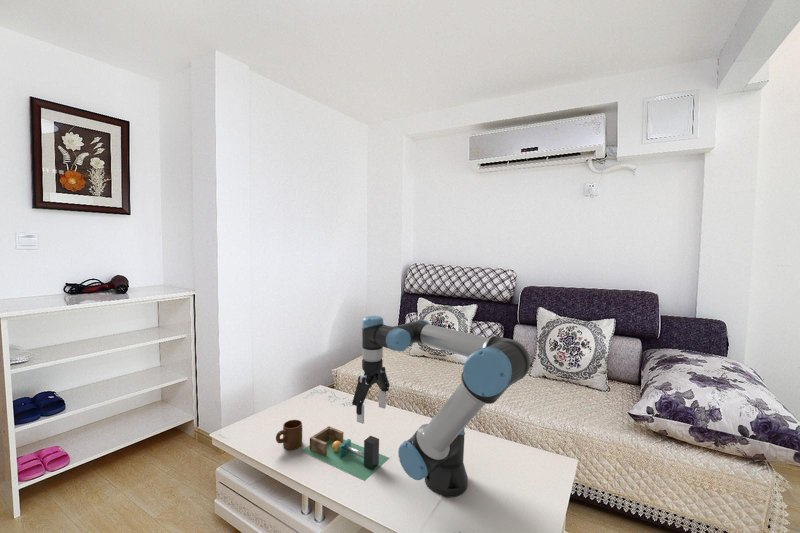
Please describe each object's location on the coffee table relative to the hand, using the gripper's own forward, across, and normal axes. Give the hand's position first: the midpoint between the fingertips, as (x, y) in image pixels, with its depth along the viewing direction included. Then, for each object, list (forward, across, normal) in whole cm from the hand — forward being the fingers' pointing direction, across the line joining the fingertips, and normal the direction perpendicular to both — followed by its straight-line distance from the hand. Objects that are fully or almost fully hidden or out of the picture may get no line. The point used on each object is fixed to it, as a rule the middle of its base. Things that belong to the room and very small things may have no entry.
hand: (371, 414), depth 133 cm
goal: (+20, 0, -23) cm, 30 cm away
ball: (+18, 0, -17) cm, 25 cm away
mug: (+20, +9, -35) cm, 42 cm away
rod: (+20, 0, -6) cm, 21 cm away
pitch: (+20, 0, -13) cm, 24 cm away
